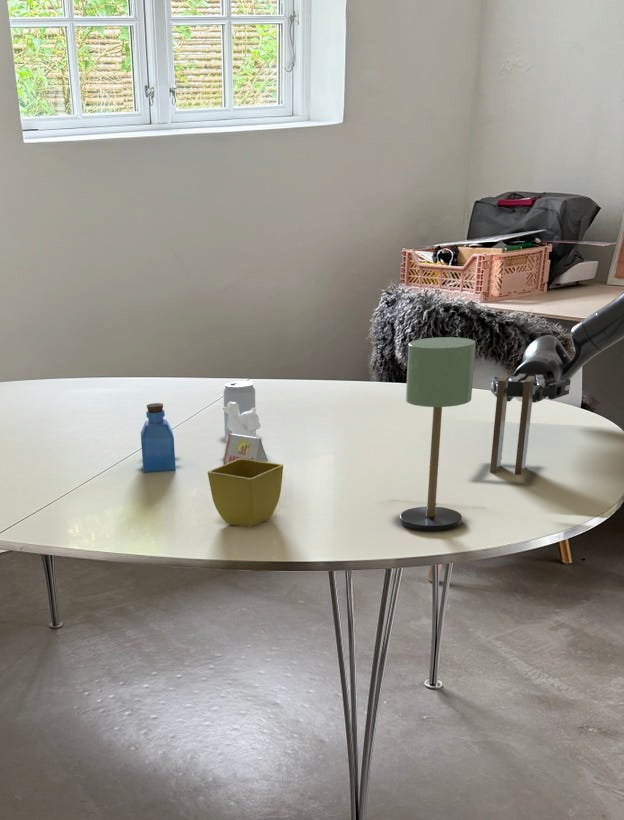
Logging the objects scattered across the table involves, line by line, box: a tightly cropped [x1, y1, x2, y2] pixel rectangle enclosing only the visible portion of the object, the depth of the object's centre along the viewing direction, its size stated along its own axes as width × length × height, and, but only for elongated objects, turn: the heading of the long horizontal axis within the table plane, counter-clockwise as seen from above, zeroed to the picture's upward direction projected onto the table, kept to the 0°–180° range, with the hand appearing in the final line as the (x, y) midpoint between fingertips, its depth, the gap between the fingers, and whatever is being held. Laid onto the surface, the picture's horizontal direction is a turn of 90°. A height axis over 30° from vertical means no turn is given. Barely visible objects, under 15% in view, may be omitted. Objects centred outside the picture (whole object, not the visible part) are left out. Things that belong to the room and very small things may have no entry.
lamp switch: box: [506, 380, 525, 403], centre depth 161 cm, size 13×4×4 cm, turn 151°
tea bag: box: [223, 433, 269, 465], centre depth 164 cm, size 4×7×10 cm, turn 46°
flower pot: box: [207, 459, 284, 528], centre depth 150 cm, size 9×9×9 cm
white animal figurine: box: [222, 401, 262, 443], centre depth 180 cm, size 8×7×12 cm
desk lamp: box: [399, 336, 477, 533], centre depth 139 cm, size 9×9×27 cm
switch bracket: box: [489, 374, 536, 475], centre depth 159 cm, size 10×8×17 cm
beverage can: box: [223, 380, 257, 442], centre depth 194 cm, size 6×6×12 cm
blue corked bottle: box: [140, 402, 177, 473], centre depth 182 cm, size 6×6×12 cm
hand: (520, 395), depth 163 cm, fingers closed on lamp switch, 3 cm apart
